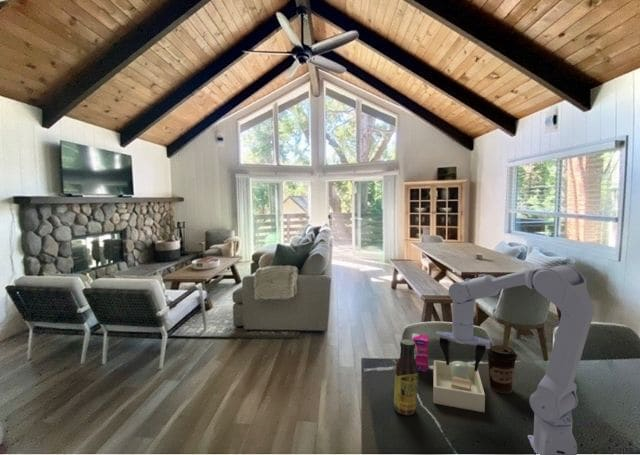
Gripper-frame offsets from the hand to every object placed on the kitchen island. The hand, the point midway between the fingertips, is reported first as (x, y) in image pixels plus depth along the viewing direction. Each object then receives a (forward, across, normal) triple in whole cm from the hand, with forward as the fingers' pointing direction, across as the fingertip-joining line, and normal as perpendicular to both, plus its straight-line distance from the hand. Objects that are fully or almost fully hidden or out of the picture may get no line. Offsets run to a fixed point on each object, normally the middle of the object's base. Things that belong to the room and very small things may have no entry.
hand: (461, 366), depth 97 cm
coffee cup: (+10, +10, +12) cm, 19 cm away
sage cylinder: (+10, -1, +7) cm, 12 cm away
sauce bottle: (+10, -13, -13) cm, 21 cm away
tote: (+10, -2, +4) cm, 11 cm away
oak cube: (+10, 0, 0) cm, 10 cm away
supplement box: (+10, -15, +14) cm, 23 cm away
